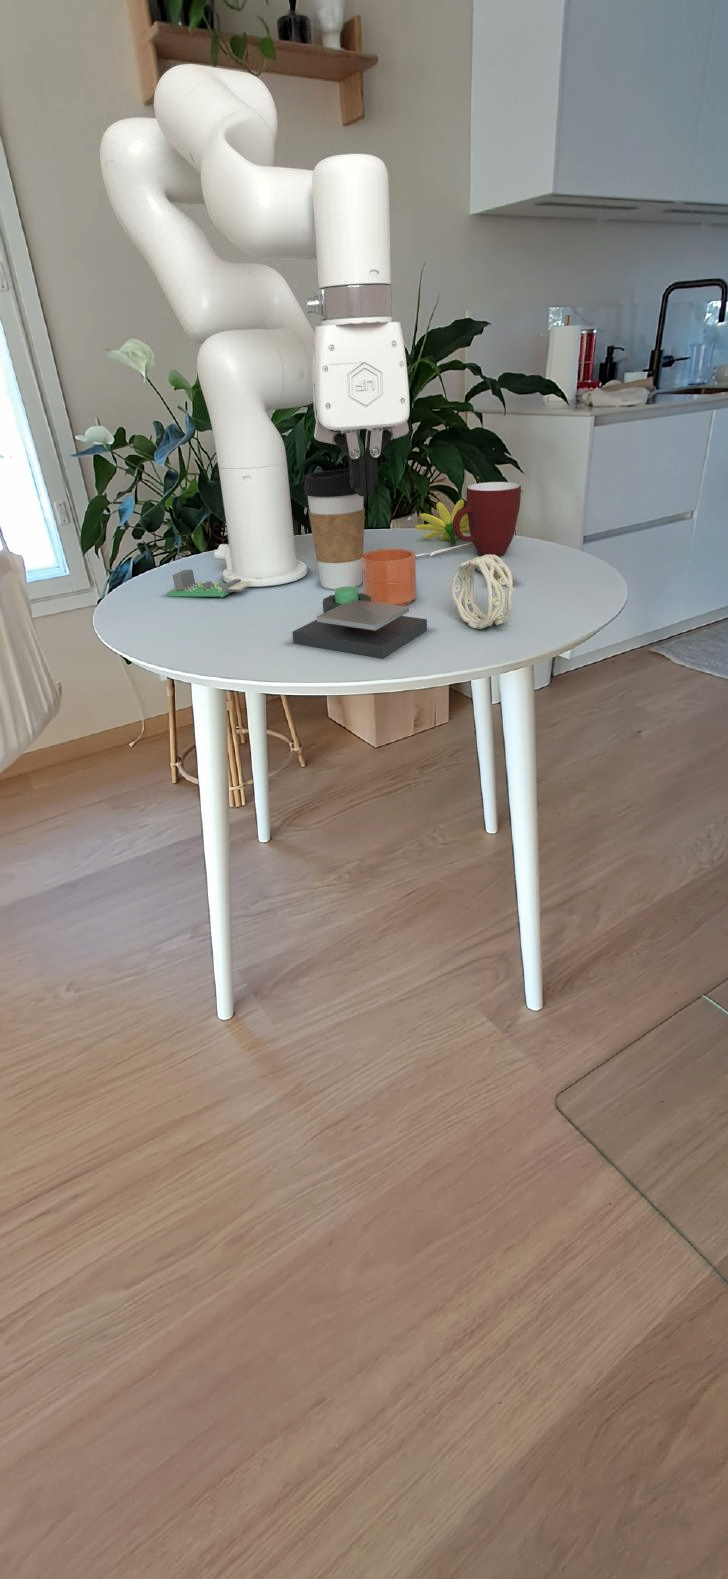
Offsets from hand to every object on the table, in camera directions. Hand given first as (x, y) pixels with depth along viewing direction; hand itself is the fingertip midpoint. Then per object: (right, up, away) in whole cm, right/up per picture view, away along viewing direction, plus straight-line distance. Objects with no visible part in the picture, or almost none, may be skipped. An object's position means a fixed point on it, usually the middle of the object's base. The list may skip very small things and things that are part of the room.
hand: (364, 493), depth 89 cm
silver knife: (+19, +5, +33) cm, 39 cm away
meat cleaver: (+20, -3, +19) cm, 28 cm away
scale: (0, -17, -1) cm, 17 cm away
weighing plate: (0, -15, -4) cm, 16 cm away
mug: (+19, +2, +29) cm, 35 cm away
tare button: (-2, -12, +2) cm, 13 cm away
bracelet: (+14, -16, 0) cm, 21 cm away
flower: (+9, +8, +33) cm, 35 cm away
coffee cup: (-3, -5, +19) cm, 20 cm away
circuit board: (-21, -4, +20) cm, 29 cm away
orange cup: (+3, -10, +10) cm, 15 cm away
